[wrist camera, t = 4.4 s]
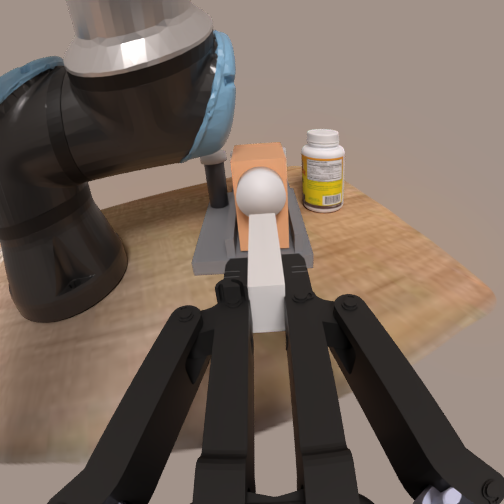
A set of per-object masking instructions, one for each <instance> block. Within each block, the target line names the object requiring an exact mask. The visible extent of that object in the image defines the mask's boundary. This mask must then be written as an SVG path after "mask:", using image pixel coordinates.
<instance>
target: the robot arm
mask: <svg viewBox="0 0 504 504" xmlns="http://www.w3.org/2000/svg"><path fill="white" fill-rule="evenodd" d="M66 2H67V6H68V10H69V13H70V17H71V20H72V24H73V27H74V30H75V36H74V38H73V40H72V42H71V44H70V45H69V47H68V49H67V51H66V53H65V55H64V59H62V58H60V57H57V56H52V57H46V58H41V59H37V60H34V61H32V62H30V63H27V64H26V65H24V66H22V67H20V68H15V69H13V70H11V71H9V72H7V73H6V74H4V75H3V76H1V77H0V243H1V247H2V252H3V258H4V264H5V269H6V274H7V278H8V282H9V291H10V295H11V298H12V300H13V301H14V303H15V305H16V307H17V308H18V310H19V312H20V313H21V314H22V315H23V316H24V317H25V318H26V319H28V320H31V321H34V322H53V321H58V320H62V319H66V318H69V317H71V316H74V315H76V314H78V313H80V312H82V311H84V310H86V309H88V308H89V307H91V306H93V305H94V304H96V303H97V302H98V301H100V300H101V299H102V298H104V297H105V296H106V295H107V294H108V293H109V292H110V291H111V290H112V289H113V288H114V287H115V286H116V285H117V284H118V282H119V281H120V279H121V278H122V276H123V274H124V272H125V270H126V267H127V256H126V253H125V250H124V247H123V244H122V241H121V239H120V237H119V236H118V234H117V233H116V232H115V231H114V230H113V228H112V227H111V225H110V224H109V222H108V221H107V219H106V218H105V216H104V215H103V214H102V212H101V211H100V209H99V208H98V206H97V205H96V204H95V202H94V200H93V198H92V195H91V192H90V188H89V185H88V182H89V181H92V180H96V179H101V178H105V177H109V176H114V175H118V174H122V173H128V172H132V171H137V170H142V169H147V168H152V167H157V166H163V165H168V164H174V163H184V162H186V161H188V160H189V159H194V158H198V157H202V156H206V155H211V154H213V153H215V152H217V151H219V150H220V149H221V148H222V147H223V146H224V144H225V142H226V141H227V139H228V137H229V134H230V131H231V127H232V122H233V116H234V108H235V94H236V88H235V85H234V79H235V57H234V51H233V47H232V43H231V41H230V39H229V37H228V35H226V34H225V33H223V32H218V31H216V30H215V31H213V20H212V18H211V16H210V15H209V14H208V13H206V12H205V11H204V10H202V9H201V8H199V7H197V6H196V5H194V4H193V3H192V2H191V0H66ZM215 292H216V297H217V302H218V303H217V304H216V305H215V306H213V307H212V308H209V309H206V310H202V311H200V310H199V309H198V308H197V307H195V306H192V305H186V306H182V307H179V308H177V309H176V310H175V311H174V312H173V313H172V314H171V316H170V317H169V319H168V321H167V322H166V324H165V326H164V327H163V329H162V331H161V332H160V334H159V336H158V338H157V339H156V341H155V343H154V344H153V346H152V348H151V349H150V351H149V353H148V355H147V356H146V358H145V360H144V361H143V363H142V365H141V367H140V368H139V370H138V372H137V374H136V375H135V377H134V379H133V381H132V382H131V384H130V386H129V388H128V389H127V391H126V393H125V395H124V397H123V398H122V400H121V402H120V404H119V406H118V407H117V409H116V411H115V413H114V415H113V416H112V418H111V420H110V422H109V424H108V425H107V427H106V429H105V431H104V433H103V435H102V437H101V438H100V440H99V442H98V444H97V446H96V448H95V450H94V452H93V453H92V455H91V457H90V459H89V461H88V463H87V465H86V467H85V469H84V470H83V471H81V472H80V473H79V474H78V475H77V476H76V477H75V478H74V479H73V480H72V481H71V482H69V483H68V484H67V485H66V486H65V487H64V488H63V489H62V490H60V491H59V492H58V493H57V494H56V495H55V496H54V497H53V498H51V499H50V501H49V502H48V503H47V504H148V503H149V501H150V499H151V497H152V495H153V493H154V491H155V488H156V486H157V484H158V481H159V479H160V476H161V474H162V472H163V470H164V467H165V465H166V463H167V460H168V458H169V456H170V453H171V451H172V449H173V446H174V444H175V441H176V439H177V437H178V434H179V432H180V430H181V427H182V425H183V423H184V420H185V418H186V416H187V413H188V411H189V408H190V406H191V404H192V401H193V399H194V397H195V394H196V392H197V390H198V387H199V385H200V383H201V380H202V378H203V375H204V373H205V371H206V368H207V366H208V364H209V361H210V359H211V365H210V374H209V384H208V393H207V403H206V413H205V423H204V434H203V445H202V453H201V456H200V457H199V458H198V460H197V462H196V468H195V480H194V493H193V502H192V503H190V504H374V503H373V502H372V501H371V500H369V499H368V498H366V497H365V496H363V495H361V494H359V493H358V489H357V481H356V475H355V468H354V462H353V457H352V453H351V451H350V449H348V448H347V445H346V441H345V435H344V429H343V424H342V419H341V413H340V407H339V402H338V396H337V391H336V386H335V381H334V376H333V371H332V366H331V361H330V356H329V351H328V347H329V348H330V351H331V353H332V354H333V356H334V358H335V360H336V362H337V363H338V365H339V367H340V369H341V371H342V373H343V374H344V376H345V378H346V380H347V382H348V384H349V386H350V387H351V389H352V391H353V393H354V395H355V397H356V399H357V400H358V402H359V404H360V406H361V408H362V409H363V411H364V413H365V415H366V417H367V419H368V421H369V423H370V425H371V427H372V428H373V430H374V432H375V434H376V436H377V438H378V440H379V442H380V444H381V446H382V447H383V449H384V451H385V453H386V455H387V457H388V459H389V461H390V463H391V465H392V467H393V469H394V471H395V472H396V474H397V476H398V478H399V480H400V482H401V483H402V485H403V487H404V488H405V490H406V491H407V492H408V493H409V495H410V496H411V497H412V498H413V499H414V500H415V501H414V502H413V504H500V503H501V501H502V500H503V499H504V478H503V476H502V475H501V474H500V473H498V472H496V470H494V469H493V468H492V467H490V466H489V465H487V464H486V463H485V462H484V461H482V460H481V459H480V458H478V457H477V456H476V455H474V454H473V453H472V452H471V451H469V450H468V449H466V448H465V446H464V445H463V443H462V442H461V440H460V438H459V437H458V435H457V433H456V432H455V430H454V429H453V427H452V426H451V424H450V422H449V421H448V419H447V418H446V416H445V415H444V413H443V412H442V410H441V409H440V407H439V406H438V404H437V403H436V401H435V400H434V398H433V397H432V395H431V394H430V392H429V391H428V389H427V388H426V386H425V385H424V383H423V382H422V380H421V379H420V378H419V376H418V375H417V373H416V372H415V370H414V369H413V367H412V366H411V365H410V363H409V362H408V360H407V359H406V358H405V356H404V355H403V353H402V352H401V351H400V349H399V348H398V346H397V345H396V344H395V342H394V341H393V340H392V338H391V337H390V335H389V334H388V333H387V331H386V330H385V329H384V327H383V326H382V325H381V323H380V322H379V321H378V319H377V318H376V317H375V315H374V314H373V313H372V311H371V310H370V309H369V307H368V306H367V305H366V303H365V302H364V301H363V300H362V299H361V298H360V297H358V296H356V295H352V294H345V295H341V296H339V297H338V298H337V299H336V300H335V302H334V301H327V300H323V299H321V298H319V297H317V296H316V295H315V293H314V292H313V291H312V287H311V283H310V279H309V275H308V271H307V266H306V262H305V259H304V258H303V257H302V256H301V255H300V254H299V253H296V254H281V252H280V245H279V238H278V231H277V224H276V217H275V213H268V214H253V215H249V240H248V257H247V258H232V259H230V260H229V261H228V262H227V263H226V265H225V273H224V279H223V280H221V281H219V282H218V283H217V284H216V286H215ZM276 331H286V350H287V357H288V368H289V379H290V391H291V402H292V415H293V427H294V440H295V452H296V453H295V454H296V468H297V491H295V492H292V493H289V494H285V495H282V496H278V497H271V496H266V495H260V494H256V493H255V492H256V490H255V478H254V341H253V333H260V332H276ZM327 346H328V347H327ZM211 355H212V356H211Z"/></svg>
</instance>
